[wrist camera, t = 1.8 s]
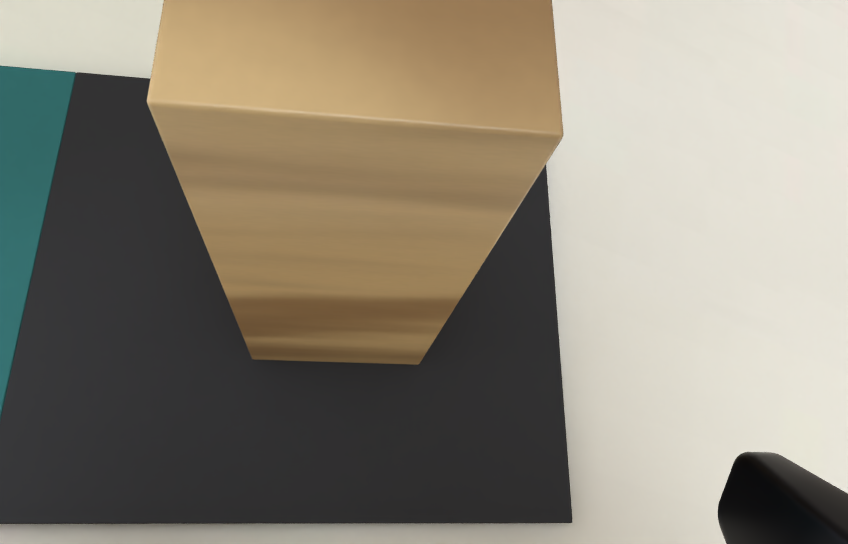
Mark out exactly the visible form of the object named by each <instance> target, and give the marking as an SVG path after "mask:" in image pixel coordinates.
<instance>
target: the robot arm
mask: <svg viewBox="0 0 848 544" xmlns="http://www.w3.org/2000/svg"><path fill="white" fill-rule="evenodd" d="M718 520H719V524H720V528H721V530H722V533H723V536H724V538H725V541H726V543H727V544H848V494H847V493H845V492H844V491H842V490H840V489H838V488H837V487H835V486H833V485H832V484H830V483H828V482H826V481H825V480H823V479H821V478H819V477H818V476H816V475H814V474H812V473H811V472H809V471H807V470H805V469H804V468H802V467H800V466H798V465H797V464H795V463H793V462H791V461H790V460H788V459H786V458H784V457H783V456H781V455H779V454H776V453H770V452H745V453H742V454H740V455H739V456H738V457H737V458H736V459H735V461H734V464H733V466H732V469H731V472H730V474H729V477H728V480H727V483H726V485H725V488H724V491H723V493H722V496H721V499H720V501H719V505H718Z"/></svg>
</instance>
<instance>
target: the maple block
mask: <svg viewBox="0 0 848 544" xmlns="http://www.w3.org/2000/svg"><path fill="white" fill-rule="evenodd" d="M147 104H148V106H149V109H150V111H151V114H152V116H153V119H154V121H155V123H156V126H157V128H158V131H159V133H160V136H161V138H162V141H163V143H164V145H165V148H166V150H167V153H168V155H169V158H170V160H171V162H172V165H173V167H174V170H175V172H176V175H177V177H178V179H179V182H180V184H181V187H182V189H183V192H184V194H185V197H186V199H187V201H188V204H189V206H190V209H191V211H192V214H193V216H194V218H195V221H196V223H197V226H198V228H199V231H200V233H201V235H202V238H203V240H204V243H205V245H206V248H207V250H208V253H209V255H210V257H211V260H212V262H213V265H214V267H215V270H216V272H217V274H218V277H219V279H220V282H221V284H222V287H223V289H224V292H225V294H226V296H227V299H228V301H229V304H230V306H231V309H232V311H233V313H234V316H235V318H236V321H237V323H238V326H239V328H240V330H241V333H242V335H243V338H244V340H245V343H246V345H247V348H248V350H249V352H250V355H251V357H252V359H254V360H286V361H318V362H350V363H382V364H413V365H418V364H420V362H421V361H422V359H423V357H424V356H425V354H426V353H427V351H428V349H429V348H430V346H431V345H432V343H433V342H434V340H435V338H436V337H437V335H438V334H439V332H440V331H441V329H442V327H443V326H444V324H445V323H446V321H447V319H448V318H449V316H450V315H451V313H452V312H453V310H454V308H455V307H456V305H457V304H458V302H459V300H460V299H461V297H462V296H463V294H464V293H465V291H466V289H467V288H468V286H469V285H470V283H471V282H472V280H473V278H474V277H475V275H476V274H477V272H478V270H479V269H480V267H481V266H482V264H483V263H484V261H485V259H486V258H487V256H488V255H489V253H490V252H491V250H492V248H493V247H494V245H495V244H496V242H497V240H498V239H499V237H500V236H501V234H502V233H503V231H504V229H505V228H506V226H507V225H508V223H509V222H510V220H511V218H512V217H513V215H514V214H515V212H516V210H517V209H518V207H519V206H520V204H521V203H522V201H523V199H524V198H525V196H526V195H527V193H528V191H529V190H530V188H531V187H532V185H533V184H534V182H535V180H536V179H537V177H538V176H539V174H540V173H541V171H542V169H543V168H544V166H545V165H546V163H547V161H548V160H549V158H550V157H551V155H552V154H553V152H554V150H555V149H556V147H557V146H558V144H559V143H560V141H561V139H562V137H563V125H562V113H561V101H560V90H559V78H558V67H557V55H556V43H555V32H554V20H553V9H552V0H164V3H163V9H162V14H161V20H160V26H159V32H158V38H157V44H156V49H155V55H154V61H153V67H152V73H151V79H150V85H149V90H148V96H147Z"/></svg>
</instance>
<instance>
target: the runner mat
mask: <svg viewBox="0 0 848 544" xmlns="http://www.w3.org/2000/svg"><path fill="white" fill-rule="evenodd" d="M149 85H150V79H148V78H136V77H125V76H113V75H101V74H90V73H75V72H66V71H55V70H43V69H31V68H20V67H8V66H0V524H149V523H572V509H571V496H570V482H569V469H568V456H567V442H566V429H565V415H564V402H563V388H562V375H561V361H560V348H559V334H558V321H557V307H556V294H555V280H554V267H553V253H552V240H551V226H550V213H549V200H548V186H547V173H546V165H545V166H544V168H543V169H542V171H541V173H540V174H539V176H538V177H537V179H536V180H535V182H534V184H533V185H532V187H531V188H530V190H529V191H528V193H527V195H526V196H525V198H524V199H523V201H522V203H521V204H520V206H519V207H518V209H517V210H516V212H515V214H514V215H513V217H512V218H511V220H510V222H509V223H508V225H507V226H506V228H505V229H504V231H503V233H502V234H501V236H500V237H499V239H498V240H497V242H496V244H495V245H494V247H493V248H492V250H491V252H490V253H489V255H488V256H487V258H486V259H485V261H484V263H483V264H482V266H481V267H480V269H479V270H478V272H477V274H476V275H475V277H474V278H473V280H472V282H471V283H470V285H469V286H468V288H467V289H466V291H465V293H464V294H463V296H462V297H461V299H460V300H459V302H458V304H457V305H456V307H455V308H454V310H453V312H452V313H451V315H450V316H449V318H448V319H447V321H446V323H445V324H444V326H443V327H442V329H441V331H440V332H439V334H438V335H437V337H436V338H435V340H434V342H433V343H432V345H431V346H430V348H429V349H428V351H427V353H426V354H425V356H424V357H423V359H422V361H421V362H420V364H418V365H413V364H382V363H350V362H318V361H286V360H254V359H252V357H251V355H250V352H249V350H248V348H247V345H246V343H245V340H244V338H243V335H242V333H241V330H240V328H239V326H238V323H237V321H236V318H235V316H234V313H233V311H232V309H231V306H230V304H229V301H228V299H227V296H226V294H225V292H224V289H223V287H222V284H221V282H220V279H219V277H218V274H217V272H216V270H215V267H214V265H213V262H212V260H211V257H210V255H209V253H208V250H207V248H206V245H205V243H204V240H203V238H202V235H201V233H200V231H199V228H198V226H197V223H196V221H195V218H194V216H193V214H192V211H191V209H190V206H189V204H188V201H187V199H186V197H185V194H184V192H183V189H182V187H181V184H180V182H179V179H178V177H177V175H176V172H175V170H174V167H173V165H172V162H171V160H170V158H169V155H168V153H167V150H166V148H165V145H164V143H163V141H162V138H161V136H160V133H159V131H158V128H157V126H156V123H155V121H154V119H153V116H152V114H151V111H150V109H149V106H148V104H147V96H148V90H149Z"/></svg>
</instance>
